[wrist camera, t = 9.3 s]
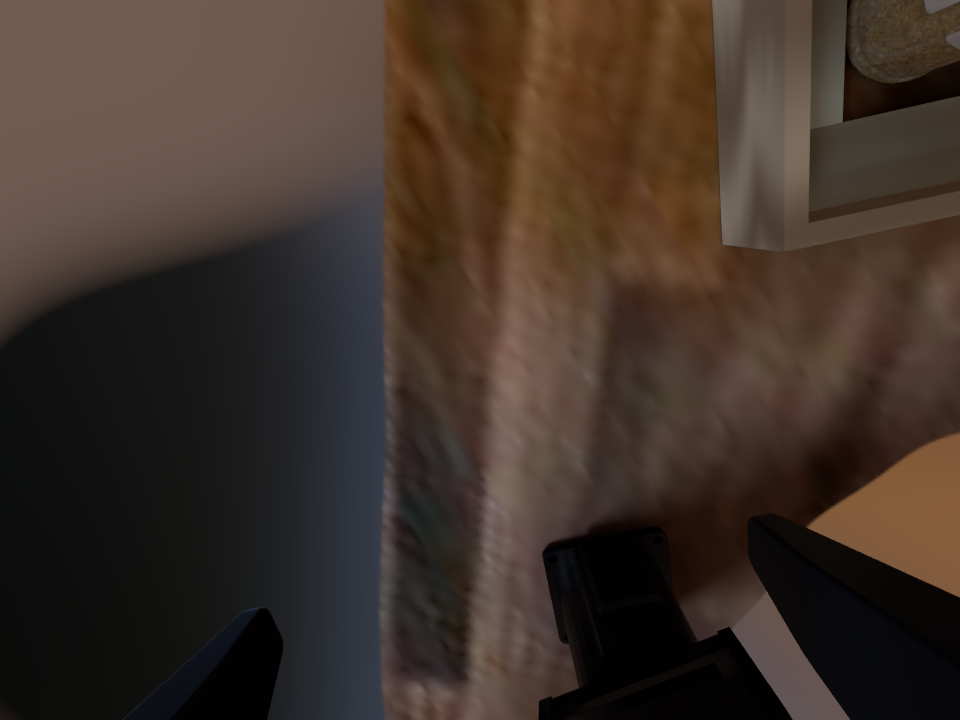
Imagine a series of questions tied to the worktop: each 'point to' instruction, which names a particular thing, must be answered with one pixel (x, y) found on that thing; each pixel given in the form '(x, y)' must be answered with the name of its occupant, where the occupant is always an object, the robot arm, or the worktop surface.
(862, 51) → the sprinkles bottle
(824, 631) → the robot arm
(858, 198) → the peg box
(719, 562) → the worktop surface
